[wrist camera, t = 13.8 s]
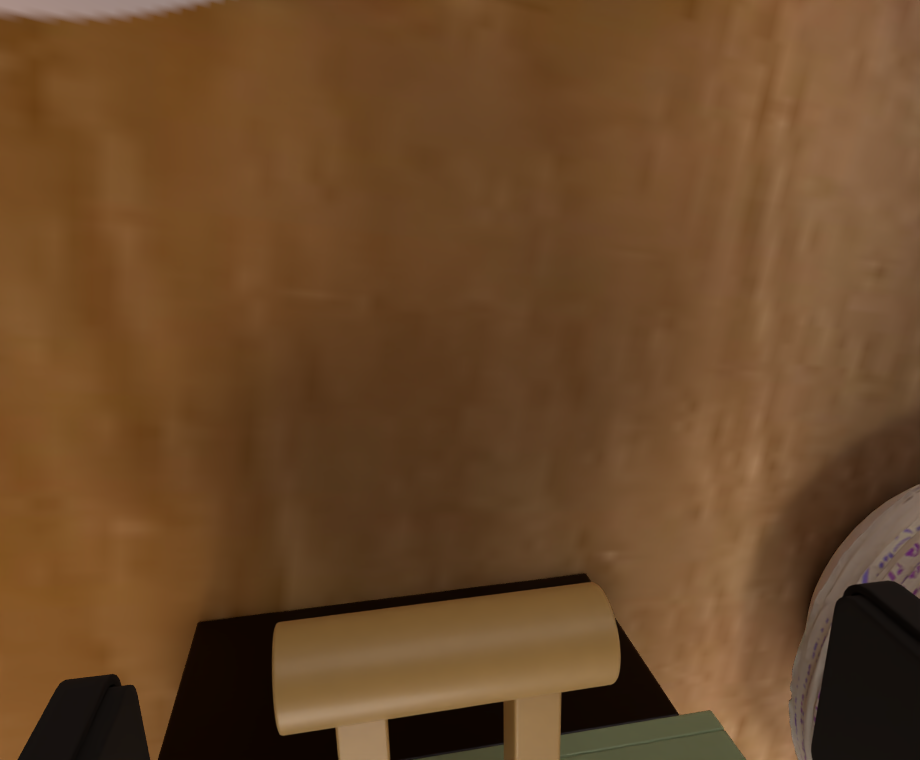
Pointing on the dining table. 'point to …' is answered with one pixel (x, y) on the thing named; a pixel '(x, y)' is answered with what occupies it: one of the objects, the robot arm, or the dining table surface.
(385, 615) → the green handled tray
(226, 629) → the stand
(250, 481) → the dining table surface
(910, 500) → the paper bowls
